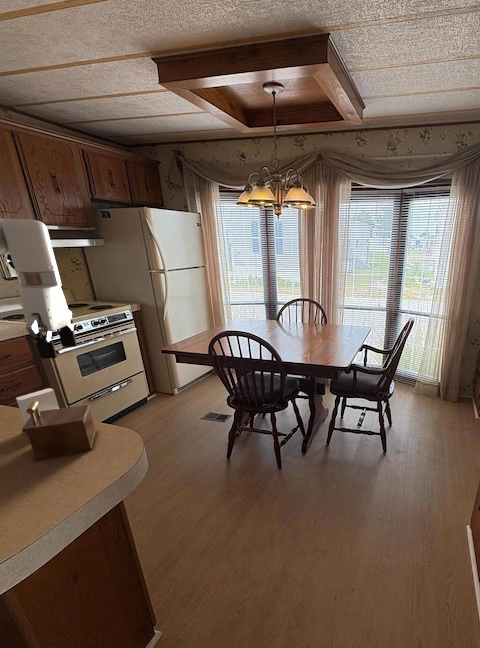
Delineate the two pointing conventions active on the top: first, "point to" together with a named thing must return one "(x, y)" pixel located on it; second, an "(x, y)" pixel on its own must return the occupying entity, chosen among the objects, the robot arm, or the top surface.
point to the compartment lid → (54, 417)
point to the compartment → (63, 439)
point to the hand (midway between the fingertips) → (60, 351)
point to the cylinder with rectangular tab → (43, 397)
